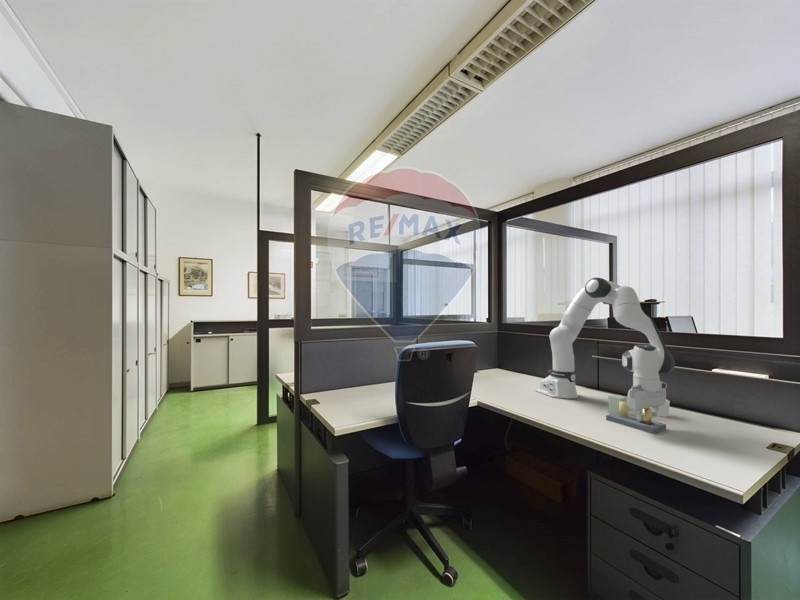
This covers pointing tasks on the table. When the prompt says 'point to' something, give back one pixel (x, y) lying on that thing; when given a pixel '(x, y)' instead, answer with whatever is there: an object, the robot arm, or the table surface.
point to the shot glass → (664, 409)
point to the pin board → (633, 420)
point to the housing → (615, 402)
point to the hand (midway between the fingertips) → (646, 417)
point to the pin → (647, 416)
